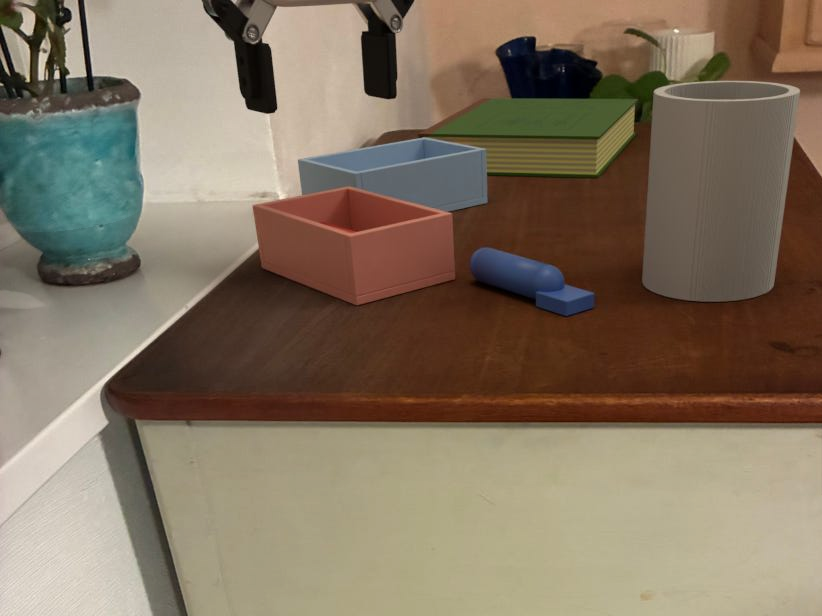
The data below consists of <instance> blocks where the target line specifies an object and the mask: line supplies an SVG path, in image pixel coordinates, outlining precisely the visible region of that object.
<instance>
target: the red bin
mask: <svg viewBox="0 0 822 616" xmlns="http://www.w3.org/2000/svg"><path fill="white" fill-rule="evenodd" d="M251 206H252V212H253V213H252V214H253V219H254V225H255V231H256V239H257V245H258V252H259V258H260V265H261V268H262V269H263V270H266V271H269V272H271V273H274V274H276V275H278V276H281V277H282V278H286V279H288V280H291V281H294V282H295V283H299V284H301V285H304V286H306V287H309V288H311V289H314V290H317V291H319V292H321V293H324V294H326V295H329V296H332V297H334V298H337V299H339V300H341V301H345V302H347V303H349V304H352V305H354V306H360V305H365V304H368V303H371V302H372V303H373V302H375V301H380V300H382V299H386V298H390V297H393V296H398V295H402V294H405V293H409V292H413V291H416V290H420V289H424V288H428V287H431V286H435V285H439V284H442V283H447V282H450V281H454V280H456V266H455V265H456V264H455V243H454V242H455V241H454V222H453V221H454V220H453V213H452V212H450V211H449V212H445V211H442V210H438V209H434V208H430V207H426V206H422V205H419V204H415V203H411V202H407V201H403V200H400V199H396V198H392V197H388V196H384V195H380V194H377V193H373V192H369V191H365V190H361V189H358V188H354V187H350V186H348V187H343V188H338V189H333V190H327V191H322V192H317V193H312V194H307V195H302V194H301V195H297V196H292V197H288V198H281V199H277V200H271V201H266V202H261V203H256V204H252V205H251ZM319 222H326V223H329V224H332V225H336V226H339V227H342V228H345V229H348V230H352V231H355V233H350V232H346V231H343V230H340V229H337V228H334V227H330V226H327V225H324V224H321V223H319Z"/></svg>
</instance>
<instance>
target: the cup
mask: <svg viewBox="0 0 822 616" xmlns="http://www.w3.org/2000/svg"><path fill="white" fill-rule="evenodd" d="M800 96H801V89H800V88H798V87H796V86H793V85H789V84H785V83H777V82H769V81H757V80H756V81H753V80H707V81H693V82H692V81H691V82H682V83H675V84H667V85H663V86H661V87H657V88H655V89H654V90H653V96H652V97H653V99H652V113H651V129H650V130H651V132H650V146H649V163H648V179H647V180H648V181H647V195H646V210H645V214H646V215H645V227H644V244H643V259H642V277H641V280H642V281H641V283H642V285H643V286H644V287H645V289H646V290H649V291H650V292H652V293H654V294H657V295H659V296H663V297H667V298H672V299H676V300H682V301H688V302H689V301H692V302H703V303H719V302H721V303H722V302H723V303H724V302H734V301H736V302H737V301H742V300H743V301H744V300H748V299H752V298H757V297H760V296H763V295H765V294H767V293H769V292H770V291H771V290H773V288H774V286H775V279H776V273H777V266H778V265H777V264H778V259H779V251H780V245H781V244H780V242H781V237H782V228H783V220H784V214H785V206H786V199H787V193H788V183H789V177H790V169H791V164H792V163H791V162H792V155H793V147H794V140H795V133H796V126H797V118H798V111H799V103H800Z"/></svg>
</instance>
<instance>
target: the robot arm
mask: <svg viewBox="0 0 822 616" xmlns="http://www.w3.org/2000/svg"><path fill="white" fill-rule="evenodd" d="M201 2H202V7H203V10H204V12H205V14H207V16H209V17H210V19H211V20H213V22H214V23H215V24H216V25H217V26H218V27H219V28H220V29H221V31H223V33H224V36H225V38H226V39H227V40H228V41H230V42H233V49H234V57H235V63H236V64H235V65H236V71H237V78H238V86H239V87H238V88H239V92H240V95H241V96H242V98H243V99H244V103H245V107H246V109H247V110H249V111H253V112H257V113H261V114H264V115H265V114H266V115H268V114H269V115H270V114H276V111H278V100H277V99H278V98H277V90H276V80H275V74H274V73H275V72H274V63H273V61H274V60H273V54H272V47H271V46H270V43H267V42H263V36H264V33H265V32H266V30H267V28H268V25H269V23H270V22H271V20H272V18H273V16H274V14H275V12H276V10H277V8H278V7H279V8H293V7H296V8H298V7H299V8H300V7H317V6H334V5H350V4H351V5H353V7H354V9H355V10H356V11H357V13H358V14H359V16H360V17H361V19H362V20H363V22H364V23H365V25H366V26H367V30H362V31H361V35H360V45H361V46H360V47H361V62H362V77H363V91H364V94H366V95H367V96H368V97H371V98H372V97H373V98H378V99H384V100H395V99H396V98H397V95H398V89H397V88H398V87H397V81H398V57H397V56H398V55H397V34H399V33H400V32H402V30H403V27H404V19H405V17H406V16H407V14H408V13H409V11H410V9H411V7H412V6H413V5H414V2H415V0H236V1H235V2H234V1H233V0H201Z"/></svg>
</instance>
